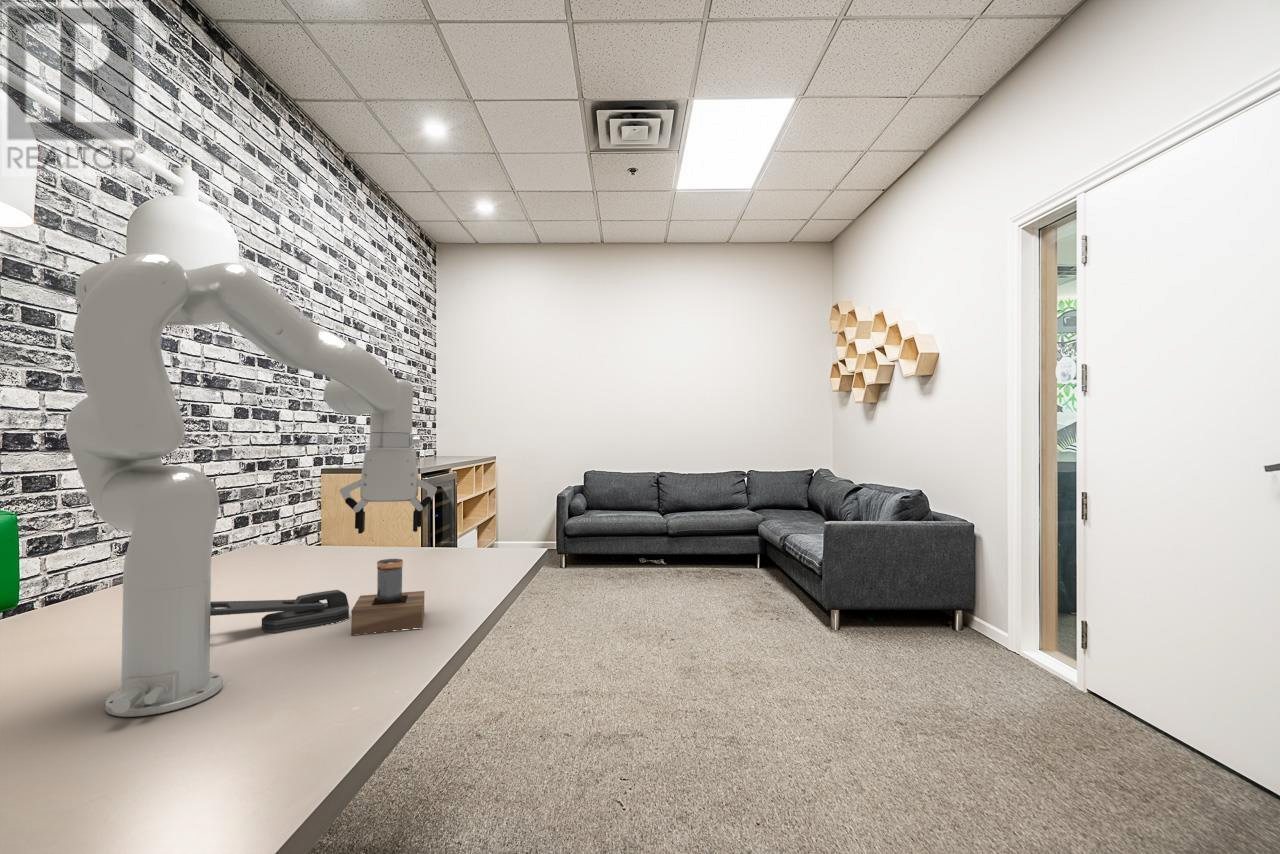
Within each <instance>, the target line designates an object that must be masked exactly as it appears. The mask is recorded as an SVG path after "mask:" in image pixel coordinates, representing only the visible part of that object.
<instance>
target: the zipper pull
mask: <svg viewBox="0 0 1280 854" xmlns="http://www.w3.org/2000/svg"><path fill="white" fill-rule="evenodd" d="M323 601H326V602H323ZM348 601H349V600H348V596H347V593H345V592H344V591H342V590H339V589H331V590H326V591H325V590H324V591H317V592H312V593H307V594H301V595H298V596H297V597H296V598H295V599H273V600H272V599H268V600H265V599H264V600H231V601H230V600H225V601H224V600H223V601H222V600H221V601H220V600H219V601H216V600H214V601H211V606H210V617H212V616H229V615H243V614H244V615H245V614H257V613H258V614H259V613H268V614H266V615H264V616H262V618H261V631H262V632H263V633H267V634H276V635H277V634H282V633H287V632H294V631H299V630H305V629H306V630H307V629H312V628H317V627H321V626H322V625H323V626H327V625H326V624H329V625H332V624H331V623H335V624H337V623H336V622H339V621H342V620H345V619H348V618H349V619H350V605H349V602H348ZM349 619H348V620H349ZM345 621H346V620H345ZM342 622H343V621H342ZM339 623H340V622H339Z"/></svg>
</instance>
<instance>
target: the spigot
mask: <svg viewBox="0 0 1280 854" xmlns="http://www.w3.org/2000/svg"><path fill="white" fill-rule="evenodd" d="M403 564H404V560H403V559H401V558H386V559H380V560H378V561H376V570H377V573H376V574H377V577H376V578H377V581H376V582H377V584H376V585H377V586H376V587H377V589H376V591H377V605H384V604H396V603H402V593H403V567H404V565H403Z"/></svg>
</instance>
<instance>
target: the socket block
mask: <svg viewBox="0 0 1280 854" xmlns="http://www.w3.org/2000/svg"><path fill="white" fill-rule="evenodd" d="M350 613H351V615H350V616H351V620H350V621H351V623H350V626H351V627H350V628H351V631H350V635H352V636H356V635H355V634H363V635H365V634H364V633H374V632H384V631H393V630H402V629H413V628H422V629H423V625H422V624H424V619H423V617H424V618H425V590H418V591H408V592H407V591H404V592H403V591H402V603H396V604H384V605H377V594H366V595H365V594H361V595H360V596H359V597H358V599H357V600H356V602H355V604H354V606H353V607H352V609H351V612H350ZM374 634H375V633H374Z"/></svg>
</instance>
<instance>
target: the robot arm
mask: <svg viewBox="0 0 1280 854" xmlns="http://www.w3.org/2000/svg"><path fill="white" fill-rule="evenodd" d="M74 289H75V290H74V291H75V296H76V300H77V302H78V303H79V305H80V309H79V310H78V312H77V316H76V318H75V322H74V327H73V332H72V333H73V338H72V341H73V342H72V343H73V351H74V355H75V359H76V363H77V366H78V369H79V372H80V375H81V379H82V382H83V386H84V389H85V392H86V395H87V397H85V398H83V399H81V400H80V401H79V402H78V403H77V404H76V405H74V407H73V408H72V409H71V410H70V412H69V414H68V416H67V419H66V424H65V436H66V442H67V445H68V448H69V450H70V453H71V456H72V459H73V461H74V464H75V467H76V468H77V471H78V473H79V476H80V479H81V481H82V484H83V486H84V489H85V491H86V494H87V497H88V499H89V501H90V504H91V505H92V507H93V509H94V511H95V512H96V514H97V516H98V517H99V518H100V519H101V520H102V521H104V523H106V524H107V525H109V526H111V527H112V528H114V529H118V530H121V531H126V532H131V534H130V538H129V542H128V544H127V545H128V546H127V550H126V552H125V557H124V563H123V569H122V626H121V627H122V631H121V632H122V633H121V674H120V675H121V677H120V678H121V680H120V681H121V683H120V684H121V685H120V687H121V688H120V689H119V690H117V691H115V692H113V693H112V694H111V695H109V696H108V697H107V698H106V699H105V703H104V704H105V705H104V709H105V710H104V711H105V712H106V713H107V714H109V715H112V716H115V717H122V718H124V717H125V718H126V717H129V718H130V717H131V718H133V717H143V716H144V717H145V716H151V715H152V716H153V715H157V714H163V713H167V712H168V713H169V712H172V711H176V710H179V709H182V708H183V709H184V708H186V707H190V706H193V705H195V704H197V703H200V702H202V701H205V700H207V699H209V698H211V697H212V696H214V695H216V694H217V693H219V691H220V690H221V689H222V688H223V685H224V678H223V676H222V674H219V673H217V672H212V671H210V668H211V667H210V665H211V664H210V663H211V662H210V661H211V659H210V658H211V653H210V652H211V616H210V606H211V602H212V600H211V598H212V597H211V596H212V595H211V593H212V591H211V590H212V589H211V588H212V575H211V574H212V551H213V543H214V536H215V535H214V534H215V530H216V525H217V522H218V521H217V520H218V516H219V510H220V497H219V491H218V489H217V488H216V485H215V483H214V482H213V481H212V480H211V479H210V478H209V477H208V476H207V475H205V473H203V472H201V471H199V470H196V469H194V468H191V467H187V466H180V465H164V463H163V460H162V458H164V457H165V456H167V455H168V456H169V455H170V454H171V453H174V452H175V451H176V450H178V448H179V447H180V446H181V444H182V443H183V441H184V438H185V436H186V435H185V433H186V427H185V423H184V419H183V415H182V413H181V410H180V407H179V404H178V401H177V399H176V395H175V392H174V389H173V387H172V384H171V382H170V378H169V375H168V372H167V369H166V365H165V361H164V357H163V353H162V335H163V332H164V329H165V327H166V326H192V325H193V326H196V325H197V326H198V325H199V326H200V325H212V324H217V323H225V324H227V325H228V326H229V327H231V328H232V329H233V330H234V331H236V332H237V333H239V334H240V335H241V336H242V337H244V338H245V339H246V340H248V341H249V342H251V343H252V344H253V345H254V346H256V347H257V348H258V349H259V350H260V351H262V352H263V353H265V354H266V355H267V356H268V357H270V358H271V359H272V360H274V361H276V363H279V364H282V365H284V366H288V367H290V368H294V369H298V370H300V371H301V370H302V371H307V372H311V373H314V374H315V373H316V374H318V375H322V376H325V377H328V378H330V380H329V381H328V382H327V383H326V384H325V387H324V390H323V399H324V401H325V403H326V405H327V406H328V407H329V408H330V409H331V410H333V411H334V412H336V413H339V414H342V415H345V416H351V415H352V416H357V415H358V416H359V415H370V418H369V419H370V421H369V423H370V424H369V425H370V426H369V449H365V453H364V456H363V461H362V468H361V477H360V479H358V480H356V481H354V482H352V483H350V484H348V485H346V486H343V487H341V488H340V489H339V492H340V495H341V497H342V498H343V500H344V502H345V504H347V506H348V507H349V508H351V510H352V511H354V513H355V514H354V529H355V530H358V531H357V533H358V534H363V533H364V532H365V527H366V525H365V524H366V522H365V521H366V511H365V510H364V507H366V506H367V504H368V503H387V502H389V503H393V502H398V503H399V502H401V503H402V502H409V503H410V504H411V505H412V506H413V507H414V510H413V511H412V512H413V513H412V514H413V515H412V516H413V517H412V518H413V519H412V531H413V532H414V533H417V532H418V528H421V527H422V517H423V516H422V514H423V513H422V511H423V509H424V508H426V507H427V506H428V505H429V504H430V503H431V502H432V500H433V498H434V497H435V495H436V493H437V491H438V488H437V487H436V486H434V485H432V484H430V483H428V482H426V481H424V480H422V479H419V466H418V456H417V451H416V450H413V449H412V448H413V446H414V445H420V440H421V439H420V437H418V436H417V437H416V436H414V435H413V405H414V404H413V403H414V402H413V401H414V400H413V398H414V388H413V387H414V386H413V384H412V383H411V382H410V381H408V380H405V379H402V378H396V377H395V375H394V374H393V373H392V372H391V371H390V370H389V369H388V368H387V367H386V366H385V365H384V364H383V363H382V362H381V361H379V360H378V359H377V358H376V357H375V356H374V355H373V354H371V353H370V352H368V351H367V350H365V349H364V348H363V347H361V346H360V345H359V346H358V345H357V344H356V343H354V342H351V341H349V340H347V339H345V338H343V337H342V336H340V335H337V334H336V333H334V332H331V331H329V330H327V329H324V328H323V327H320V326H318V325H316V323H313V321H311V320H310V319H309V318H308V317H307V316H305V315H304V314H303V313H302V312H301V311H299V310H298V308H297V307H295V306H294V305H292V303H290V302H289V301H288V300H286V299H285V297H283V296H282V295H281V294H280V293H279V292H278V291H276V290H275V289H274V287H272V286H270V285H269V284H268V283H267V282H266V281H265V280H264V279H263V278H262V277H261V276H259V275H258V274H257V273H256V272H255V271H253V270H252V269H251V268H248V267H247V266H245V265H243V264H240V263H237V262H236V263H235V262H221V263H215V264H211V265H207V266H202V267H198V268H195V269H184V268H183V266H182V265H181V264H180V263H179V262H177V261H176V260H175V259H173V258H171V257H170V256H167V255H165V254H162V253H161V254H160V253H156V252H139V253H138V252H137V253H131V254H128V255H124V256H120V257H117V258H115V259H112V260H109V261H106V262H101V263H98V264H96V265H93V266H92V267H91V266H90V267H89V268H88V269H86V270H85V271H83V272H82V273H81V275H79V277H78V279H77V281H76V282H75V288H74ZM358 488H360V491H359V494H360V500H359V501H358V502H357V501H356V499H355V498H353V497H352V495H351V492H352V491H354V490H356V489H358ZM419 488H421V489H424V490H426V491H427V494H426V495H425V498H423V500H422V501H420V500H419V499H418V498H417V497H418V494H419Z"/></svg>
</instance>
